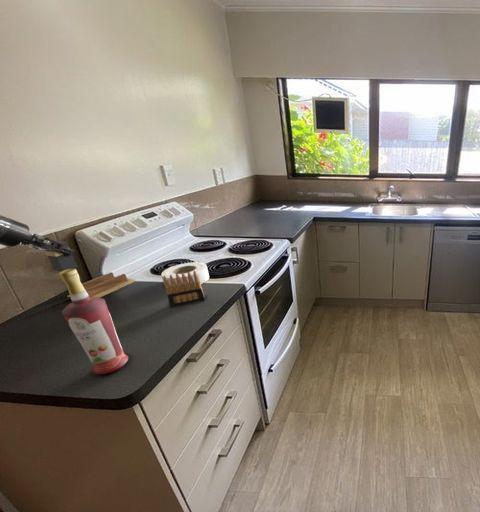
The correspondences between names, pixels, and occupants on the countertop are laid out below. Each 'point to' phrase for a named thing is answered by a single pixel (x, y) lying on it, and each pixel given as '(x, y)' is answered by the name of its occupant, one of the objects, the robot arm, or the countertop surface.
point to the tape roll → (185, 268)
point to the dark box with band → (60, 259)
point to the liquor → (92, 326)
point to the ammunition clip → (184, 290)
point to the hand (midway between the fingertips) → (66, 252)
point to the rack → (105, 284)
